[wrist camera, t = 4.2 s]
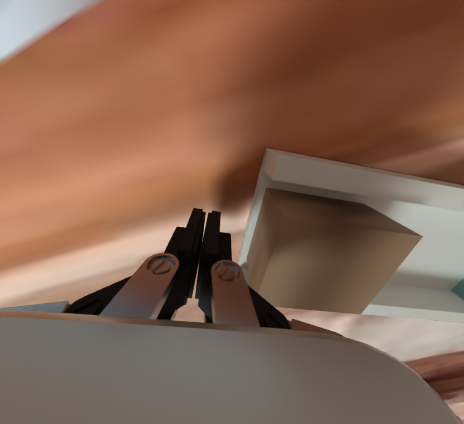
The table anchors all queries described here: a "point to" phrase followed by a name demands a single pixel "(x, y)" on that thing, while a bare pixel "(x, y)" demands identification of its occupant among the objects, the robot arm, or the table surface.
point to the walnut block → (323, 252)
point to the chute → (395, 207)
